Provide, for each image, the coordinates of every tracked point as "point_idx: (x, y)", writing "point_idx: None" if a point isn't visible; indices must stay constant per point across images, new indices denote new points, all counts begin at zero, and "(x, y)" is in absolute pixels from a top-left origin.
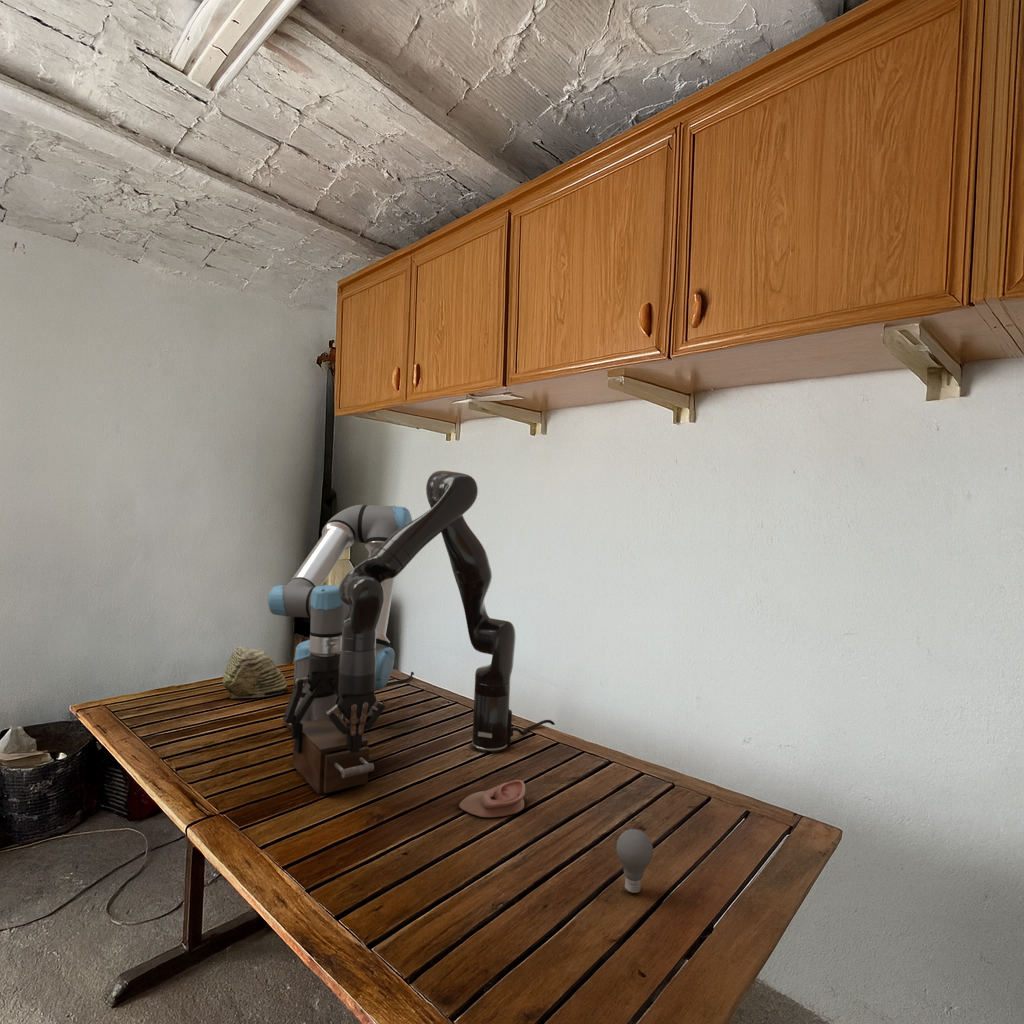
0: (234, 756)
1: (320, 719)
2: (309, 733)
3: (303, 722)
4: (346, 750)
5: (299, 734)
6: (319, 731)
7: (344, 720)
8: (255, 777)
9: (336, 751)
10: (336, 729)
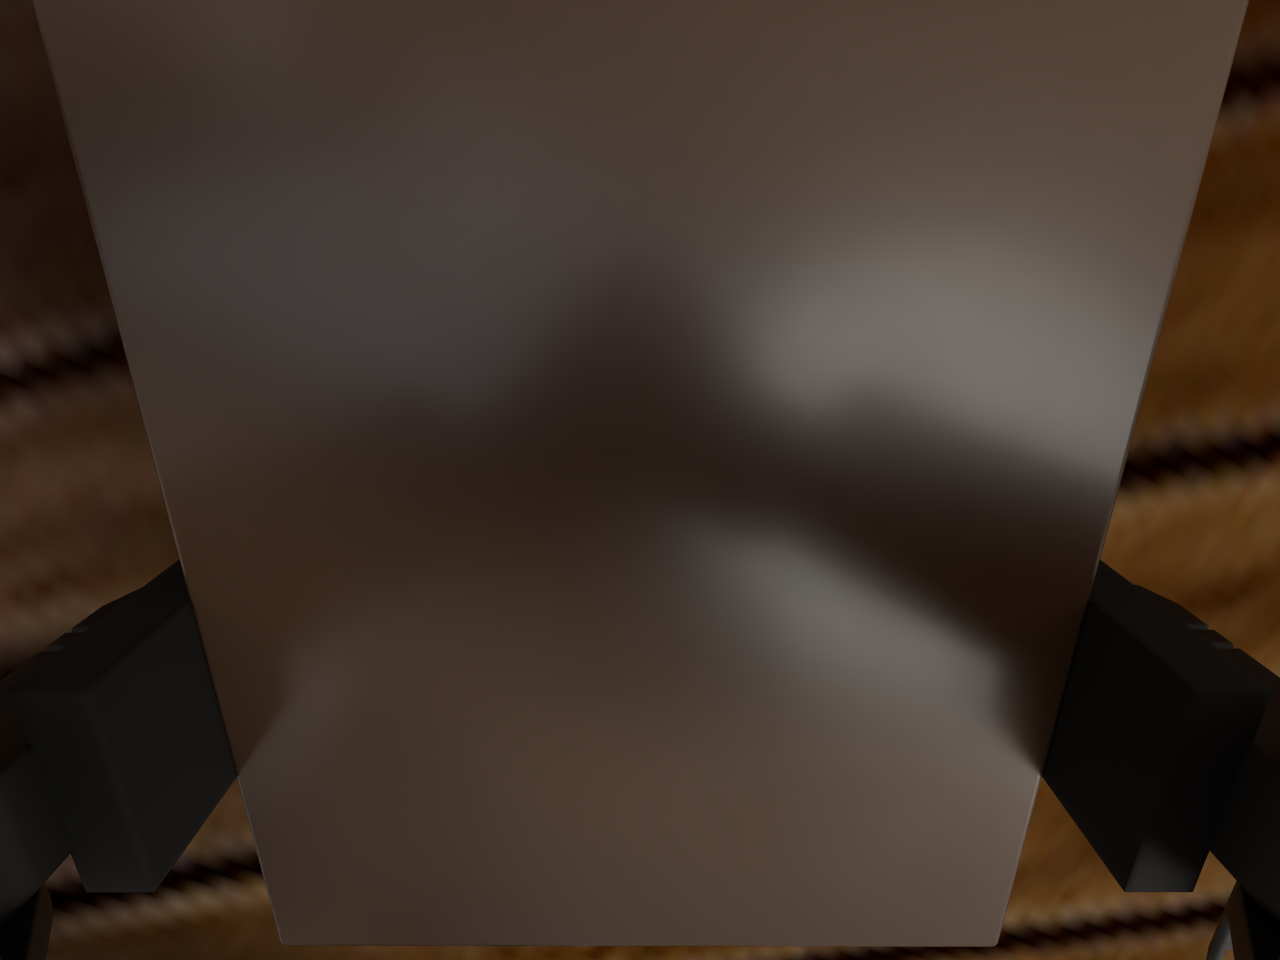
0: (1088, 903)
1: (583, 931)
2: (1040, 456)
3: (859, 932)
4: None
5: (1117, 581)
6: (829, 459)
7: (217, 736)
8: (1166, 531)
9: None
10: (480, 398)
